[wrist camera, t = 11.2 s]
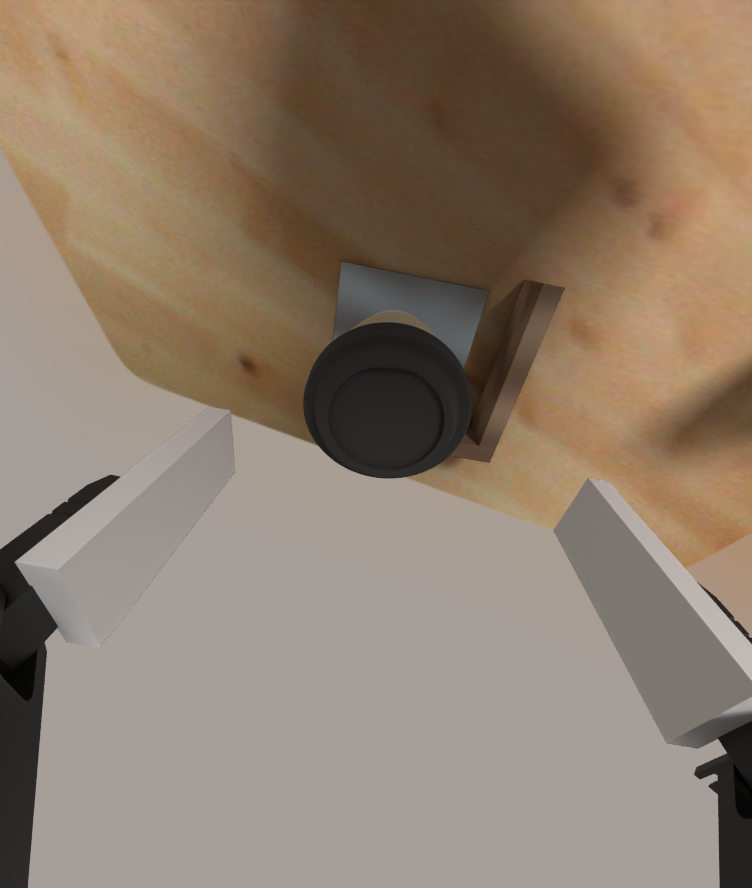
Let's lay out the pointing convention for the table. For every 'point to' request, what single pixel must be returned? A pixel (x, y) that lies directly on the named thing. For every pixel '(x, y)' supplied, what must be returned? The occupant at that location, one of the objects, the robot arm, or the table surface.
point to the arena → (457, 334)
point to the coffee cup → (388, 398)
